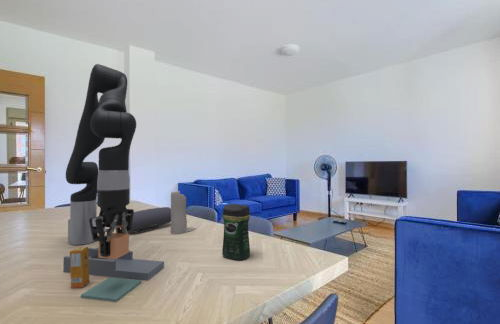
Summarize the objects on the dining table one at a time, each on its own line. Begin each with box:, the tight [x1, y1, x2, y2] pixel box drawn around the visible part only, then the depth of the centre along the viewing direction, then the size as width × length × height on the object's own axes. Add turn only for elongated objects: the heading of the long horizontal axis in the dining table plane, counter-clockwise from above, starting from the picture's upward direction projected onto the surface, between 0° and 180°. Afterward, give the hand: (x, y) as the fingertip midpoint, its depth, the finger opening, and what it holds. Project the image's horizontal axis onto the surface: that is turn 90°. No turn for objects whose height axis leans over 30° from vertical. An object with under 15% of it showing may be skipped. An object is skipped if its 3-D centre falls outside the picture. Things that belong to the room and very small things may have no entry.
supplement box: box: [69, 246, 90, 289], centre depth 70 cm, size 3×3×10 cm
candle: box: [170, 190, 197, 235], centre depth 126 cm, size 7×14×20 cm, turn 148°
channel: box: [63, 247, 165, 281], centre depth 80 cm, size 28×9×4 cm, turn 80°
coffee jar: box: [221, 203, 251, 261], centre depth 92 cm, size 10×8×19 cm
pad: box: [80, 277, 142, 303], centre depth 68 cm, size 10×10×1 cm
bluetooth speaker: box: [126, 206, 171, 233], centre depth 128 cm, size 23×9×10 cm, turn 144°
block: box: [98, 232, 130, 259], centre depth 67 cm, size 5×5×5 cm
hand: (113, 252), depth 68 cm, fingers closed on block, 5 cm apart
